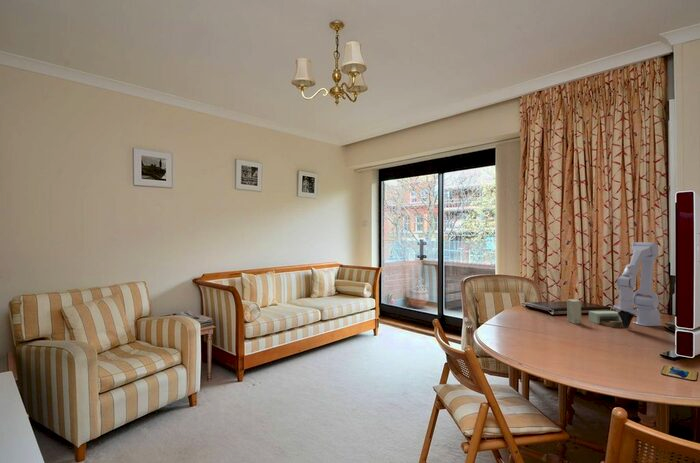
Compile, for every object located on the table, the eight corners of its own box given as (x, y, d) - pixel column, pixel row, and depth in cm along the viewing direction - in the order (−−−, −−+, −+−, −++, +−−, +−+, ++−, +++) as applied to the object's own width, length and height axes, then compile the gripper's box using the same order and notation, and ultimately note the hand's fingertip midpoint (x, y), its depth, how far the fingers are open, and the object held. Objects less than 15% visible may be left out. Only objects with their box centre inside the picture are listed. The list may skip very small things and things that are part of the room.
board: (609, 321, 198) (609, 316, 198) (627, 327, 186) (627, 321, 186) (594, 322, 197) (594, 316, 197) (611, 327, 185) (611, 322, 185)
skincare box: (581, 323, 192) (581, 301, 192) (573, 323, 192) (573, 301, 192) (574, 320, 199) (574, 299, 199) (566, 320, 199) (566, 299, 199)
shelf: (612, 320, 199) (612, 310, 199) (621, 323, 193) (621, 313, 193) (588, 321, 198) (588, 311, 198) (596, 323, 192) (596, 313, 192)
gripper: (607, 297, 189) (607, 322, 189) (630, 302, 174) (630, 330, 174) (620, 297, 189) (620, 322, 189) (644, 302, 175) (644, 330, 175)
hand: (626, 326), depth 182 cm, fingers closed
